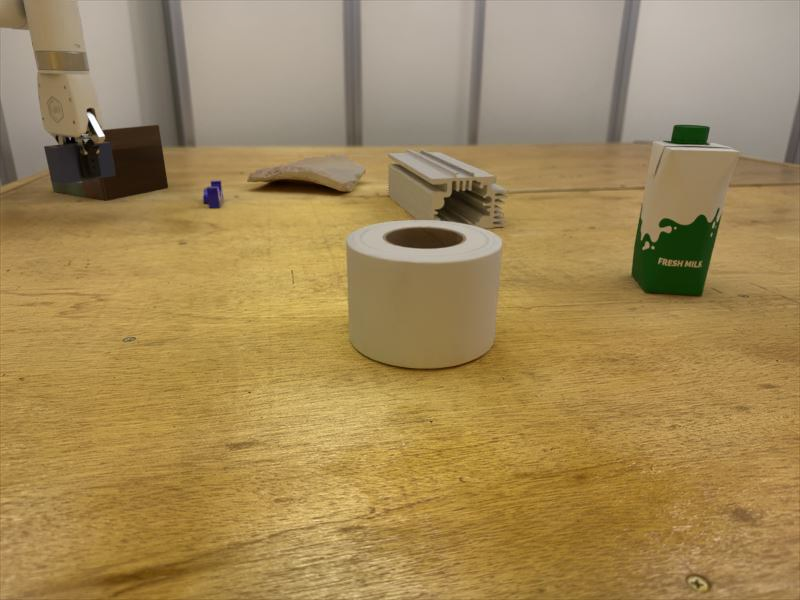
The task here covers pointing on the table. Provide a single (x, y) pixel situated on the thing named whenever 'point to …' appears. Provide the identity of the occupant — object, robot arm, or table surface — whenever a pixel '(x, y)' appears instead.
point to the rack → (126, 166)
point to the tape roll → (423, 292)
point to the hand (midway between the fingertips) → (84, 174)
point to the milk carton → (681, 211)
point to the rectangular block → (76, 162)
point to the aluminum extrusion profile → (445, 189)
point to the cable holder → (213, 194)
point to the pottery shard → (315, 172)
